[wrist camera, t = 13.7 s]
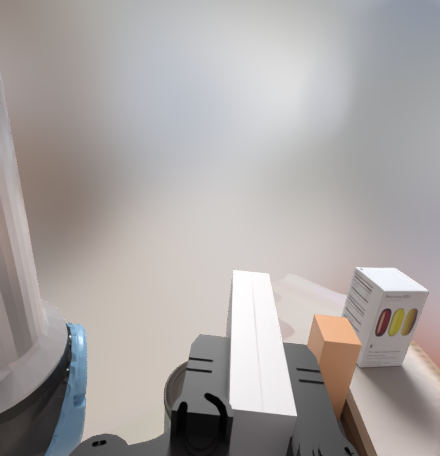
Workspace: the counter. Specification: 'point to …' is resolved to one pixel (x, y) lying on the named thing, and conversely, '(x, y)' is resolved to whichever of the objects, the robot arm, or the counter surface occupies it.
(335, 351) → the block
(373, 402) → the counter surface
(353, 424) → the walnut chute
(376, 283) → the supplement box
